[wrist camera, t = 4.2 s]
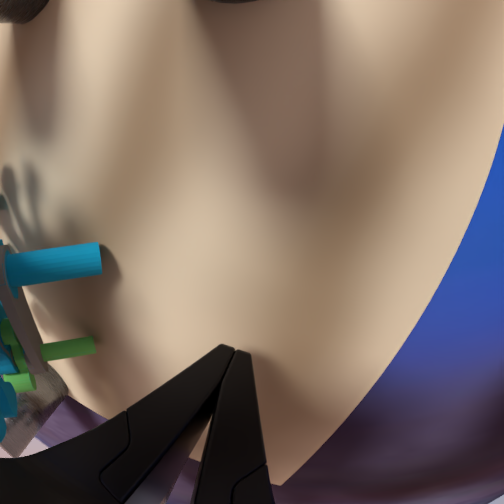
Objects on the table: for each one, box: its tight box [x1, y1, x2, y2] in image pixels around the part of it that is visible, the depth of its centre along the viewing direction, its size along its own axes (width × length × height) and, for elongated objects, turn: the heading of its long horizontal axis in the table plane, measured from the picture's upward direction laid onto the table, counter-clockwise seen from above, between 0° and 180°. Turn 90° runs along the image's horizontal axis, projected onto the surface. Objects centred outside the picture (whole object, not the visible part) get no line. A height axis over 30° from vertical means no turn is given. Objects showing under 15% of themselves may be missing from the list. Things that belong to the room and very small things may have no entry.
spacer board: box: [0, 0, 504, 486], centre depth 10 cm, size 30×24×1 cm
